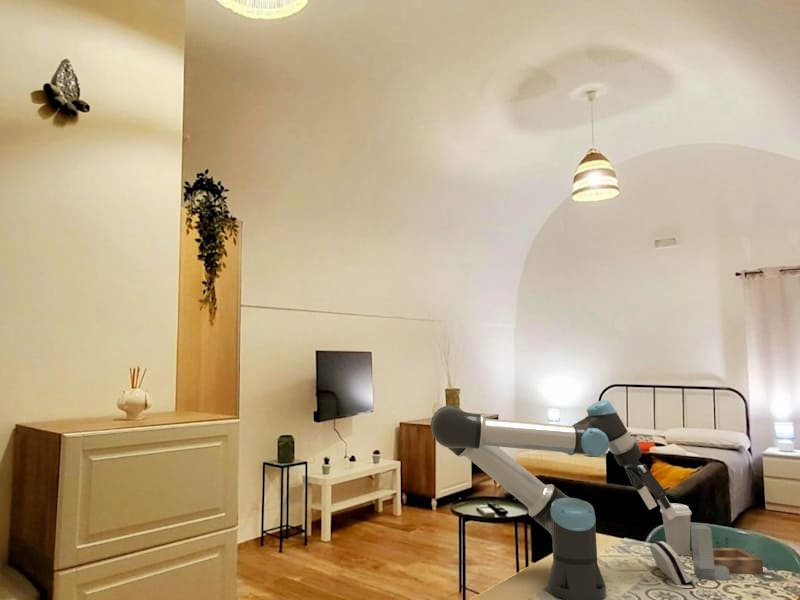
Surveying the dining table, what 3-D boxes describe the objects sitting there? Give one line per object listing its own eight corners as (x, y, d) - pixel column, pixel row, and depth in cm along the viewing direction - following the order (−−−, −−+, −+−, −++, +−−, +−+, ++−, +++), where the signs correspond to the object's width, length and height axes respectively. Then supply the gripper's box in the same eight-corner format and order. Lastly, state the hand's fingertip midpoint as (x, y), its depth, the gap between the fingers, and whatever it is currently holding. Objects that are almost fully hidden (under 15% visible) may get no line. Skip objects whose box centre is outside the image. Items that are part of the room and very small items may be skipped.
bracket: (701, 579, 162) (697, 528, 164) (694, 575, 166) (690, 525, 168) (729, 579, 162) (725, 528, 163) (722, 574, 165) (717, 525, 167)
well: (711, 573, 167) (710, 560, 167) (692, 560, 178) (691, 548, 179) (763, 573, 166) (762, 559, 167) (740, 560, 178) (739, 547, 179)
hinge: (696, 585, 157) (680, 550, 159) (680, 591, 157) (664, 555, 159) (673, 566, 174) (659, 533, 175) (659, 571, 174) (645, 539, 175)
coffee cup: (665, 556, 183) (661, 508, 185) (660, 547, 192) (657, 502, 194) (697, 558, 180) (693, 509, 183) (691, 549, 190) (688, 503, 192)
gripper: (651, 447, 159) (693, 515, 156) (619, 438, 184) (655, 497, 181) (628, 460, 159) (670, 529, 156) (599, 450, 183) (635, 509, 181)
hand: (662, 512), depth 168 cm, fingers open, 13 cm apart
